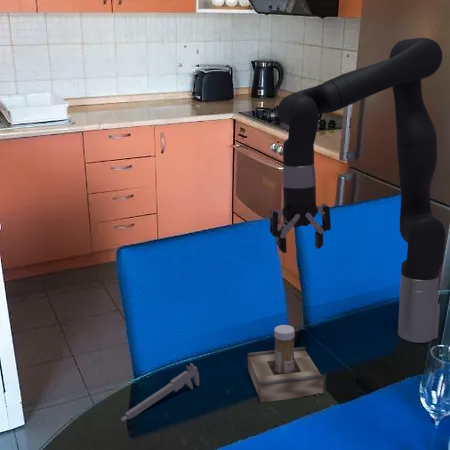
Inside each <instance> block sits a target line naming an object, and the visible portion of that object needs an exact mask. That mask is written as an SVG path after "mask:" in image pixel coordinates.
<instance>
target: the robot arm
mask: <svg viewBox="0 0 450 450" xmlns="http://www.w3.org/2000/svg"><path fill="white" fill-rule="evenodd" d="M442 62H443V50H442V48H441V46H440V44H439V43H438V42H437V41H435V40H434V39H431V38H428V37H417V38H416V37H414V38H408V39H402V40H399V41H398V42H396V43H395V44H394V45H393V46H392V49H391V51H390V53H389V58H387V59H385V60H383V61H379V62H377V63H374V64H371V65H370V64H369V65H367V66H365V67H361V68H357V69H354V70H351V71H350V70H349V71H348V72H344V73H343V74H341V75H337V76H336V77H333V78H330V79H329V80H326V81H324V82H322V83H320V84H318V85H315V86H312V87H309V88H305V89H301V90H299V91H295V92H293V93H290V94H288V95H286V96H285V97H284V98H282V99H281V100H280V102H279V103H278V105H277V108H276V109H277V112H276V113H277V117H278V119H279V120H280V121H281V122H282V123H283V124H284V125H286V126H288V137H287V139H285V140H284V142H283V146H282V162H283V167H282V168H283V169H282V192H283V193H282V195H283V196H282V197H283V207H282V209H281V210H276V209H270V211H269V212H270V213H269V216H270V217H269V219H270V220H269V233H270V235H272V236H273V237H274V238H278V239H277V243H278V249H279V251H281V253H282V254H286V253H287V238H286V236H287V235H288V234H289V232H290V231H291V230H292V229H293V227H294V228H299V227H308V226H309V225H310V226H312V228H313V229H314V230H315V232H314V247H315V248H316V249H317V250H319V249H322V247H323V246H324V233H326V232H327V231H331V229H332V225H331V209H330V206H329V205H327V204H325V203H322V204H321V205H317V204H316V203H317V189H316V188H317V187H316V186H317V176H316V167H315V147H314V145H315V141H316V137H317V131H318V125H319V115H322V114H330V113H331V114H332V113H334V112H337V111H339V110H342V109H345V108H346V107H349V106H351V105H354V104H355V103H357V102H360V101H361V100H364V99H366V98H369V97H371V96H373V95H375V94H378V93H380V92H383V91H384V90H388V89H391V88H392V92H393V93H392V94H393V98H394V99H393V100H394V112H395V113H394V115H395V116H394V117H395V127H396V128H395V129H396V153H397V164H398V178H399V187H400V209H399V211H400V212H399V232H400V236H401V237H402V239H403V241H405V242H406V243H407V248H406V249H407V251H406V259H405V260H403V262H402V263H401V265H400V267H401V268H400V285H399V286H400V287H399V303H398V305H399V307H398V324H397V335H398V336H399V338H400V339H402V340H405V341H407V342H412V343H419V344H420V343H421V344H423V343H428V342H429V343H430V342H431V341H433V340H435V339H438V338H439V326H440V325H439V324H440V311H441V310H440V309H441V305H440V304H441V303H439V302H438V291H439V280H440V279H439V276H440V270H441V268H442V267H443V262H444V255H445V253H444V252H445V245H446V230H445V226H444V224H443V223H442V222H441V220H440V219H438V218H437V217H435V216H433V213H432V208H431V205H432V204H431V195H430V194H431V185H432V181H433V177H434V175H435V170H436V168H437V162H438V144H437V142H438V141H437V131H436V128H435V125H434V123H433V121H432V118H431V115H430V114H429V112H428V110H427V108H426V105H425V103H424V102H425V101H424V98H423V91H422V80H423V79H426V78H429V77H431V76H433V75H434V74H435V73H436V72H437V71H438V70H439V68H440V67H441V65H442ZM318 213H319V214H320V215H321V223H322V224H321V225H320V224H319V223H318V221H317V220H316V219H315V217H316V216H317V214H318ZM282 216H283V218H284V220H283V222H282V223H281V226H280V228H279V221H280V219H281V217H282Z"/></svg>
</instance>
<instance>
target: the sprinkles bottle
mask: <svg viewBox="0 0 450 450" xmlns="http://www.w3.org/2000/svg"><path fill="white" fill-rule="evenodd" d="M273 331H274V332H273V333H274V334H273V337H274V350H275V370H276V375H280V374H289V373H294V348H295V346H294V345H295V344H294V343H295V341H294V340H295V336H296V335H295V332H296V331H295V328H294V327H293V326H292V325H288V324H280V325H277V326H275V327H274V329H273Z"/></svg>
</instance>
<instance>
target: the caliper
mask: <svg viewBox="0 0 450 450" xmlns="http://www.w3.org/2000/svg"><path fill="white" fill-rule="evenodd" d="M185 367H186V369H187V370H184V371H183V372H182V373H180V374H178V375H177V376H175V377H174V378H172V379H171V380H170V381H169V383H168V384H166V385H165V386H163V387H162V388H161V389H158V391H156V392H154V393H153V394H151V395H150V396H148V397H147V398H146V399H144V400H142V401H141V402H140V403H138V404H137V405H135V406H133V407H132V408H130V409H129V410H128V411H126V412H125V415H123V416H122V417H121V418H120V421H121V422H124V423H125V422H126V421H127V420H130V419H133V418H134V417H136V416H138V415H139V414H141V413H142V412H144V411H145V410H147V409H148V408H149V407H151V406H152V405H154V404H155V403H157V402H158V401H160V400H161V399H163V398H165V396H167V395H169V394H170V393H171V392H173V391H174V392H178V391H179V390H180V389H182V388H183V387H184V386H185V385H186V386H187V387H188V388H189V389H190V390H193V389H194V386H193V383H194V385H195V386H197V387H199V385H200V374H199V370H198V367H197V366H195V365H194V363H192V362H190V363H189V366H188V365H186V366H185ZM191 379H193V383H192V380H191Z"/></svg>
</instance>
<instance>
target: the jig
mask: <svg viewBox="0 0 450 450" xmlns="http://www.w3.org/2000/svg"><path fill="white" fill-rule="evenodd" d="M247 372H248V374H249V376H250V378H251V381H252V384H253V386H254V388H255V391H256V393H257V396H258V399H259V400H260V402H261V403H267V402H276V401H285V400H292V399H300V397H301V398H304V397H303V396H308V395H313V394H317V393H323V394H324V374H321V372H320V371H319V369H318V367H317V365H315V363H314V362H313V360H312V358H311V357H310V355H309V353H308V352H307V351H306V346H299V347H294V373H289V374H280V375H276V370H275V349H273V350H265V351H264V350H263V351H262V350H261V351H255V352H248V353H247Z"/></svg>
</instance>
